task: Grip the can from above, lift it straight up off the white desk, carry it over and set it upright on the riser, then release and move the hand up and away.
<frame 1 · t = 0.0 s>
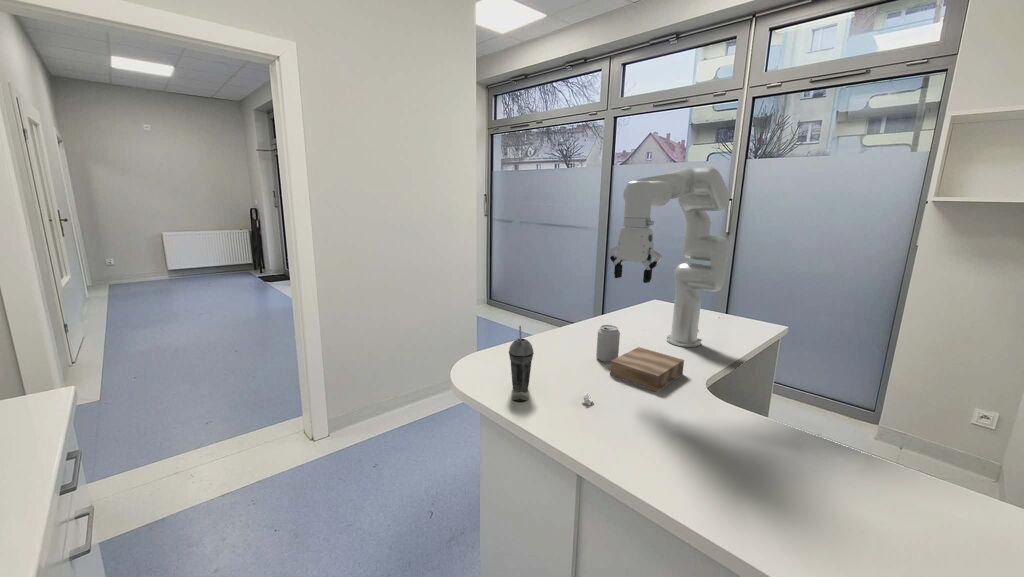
hand: (631, 279, 129), 31 cm above the counter, tool pointing down, fingers open, 9 cm apart
beverage cup: (520, 389, 125), on the counter
can: (606, 359, 149), on the counter
riser: (646, 374, 136), on the counter
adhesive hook: (590, 407, 116), on the counter
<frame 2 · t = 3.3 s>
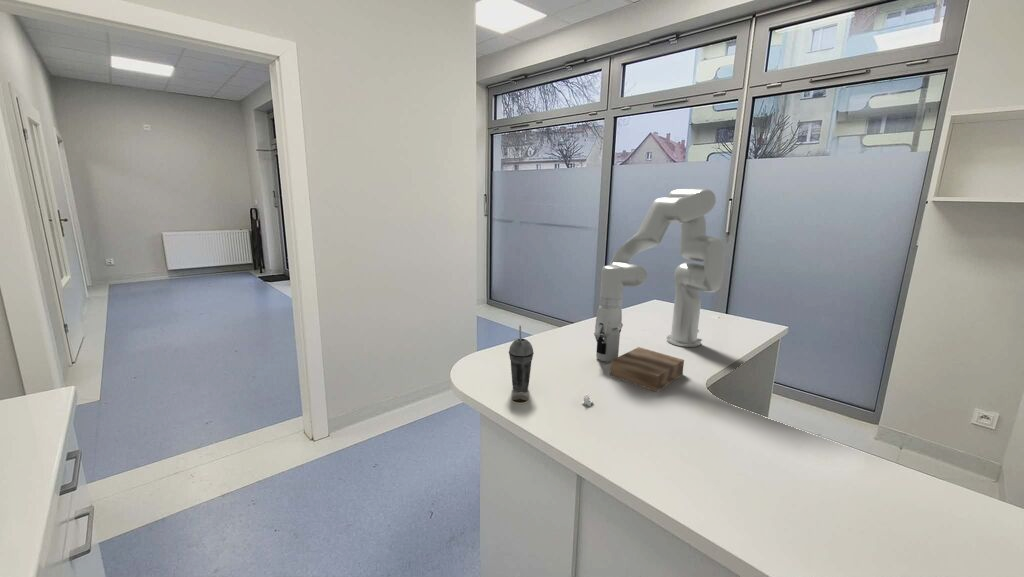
hand: (607, 350, 148), 3 cm above the counter, tool pointing down, fingers closed on can, 7 cm apart
can: (606, 359, 149), on the counter, touching gripper
everything else where it was.
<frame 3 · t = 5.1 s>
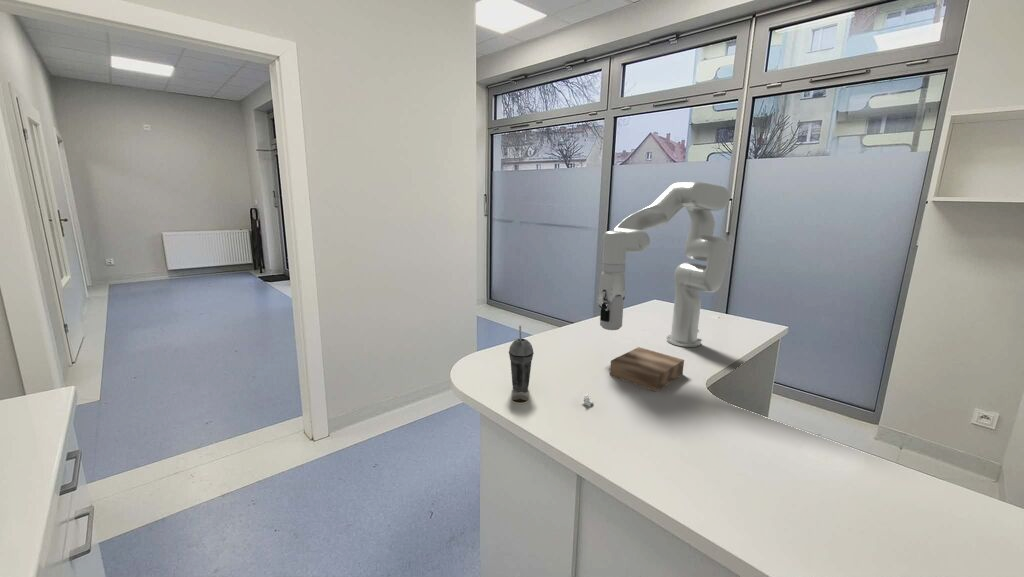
hand: (611, 318, 146), 15 cm above the counter, tool pointing down, fingers closed on can, 7 cm apart
can: (610, 328, 147), point 11 cm above the counter, touching gripper
everything else where it was.
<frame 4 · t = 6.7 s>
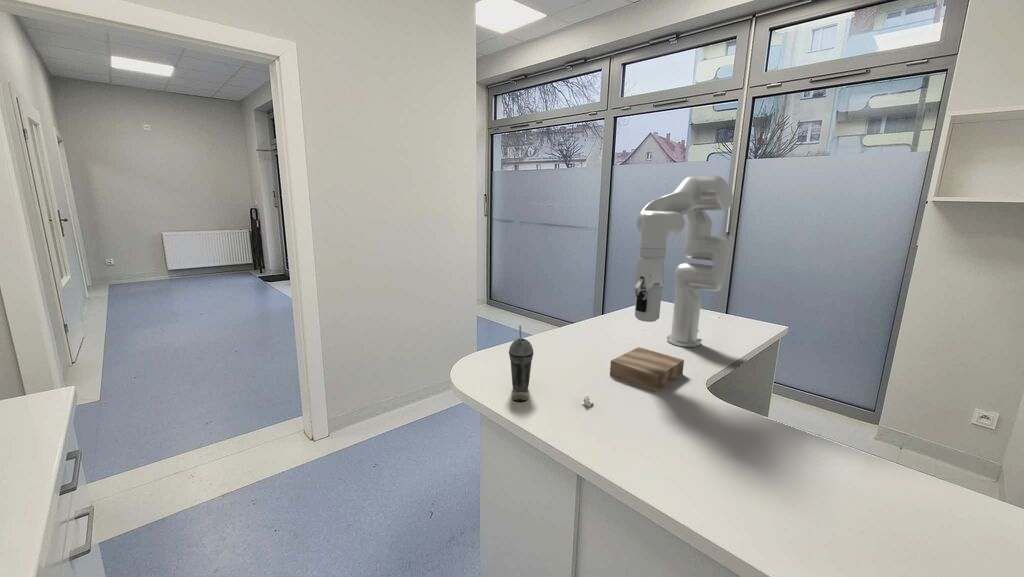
hand: (647, 308, 133), 22 cm above the counter, tool pointing down, fingers closed on can, 7 cm apart
can: (646, 319, 134), point 18 cm above the counter, touching gripper
everything else where it was.
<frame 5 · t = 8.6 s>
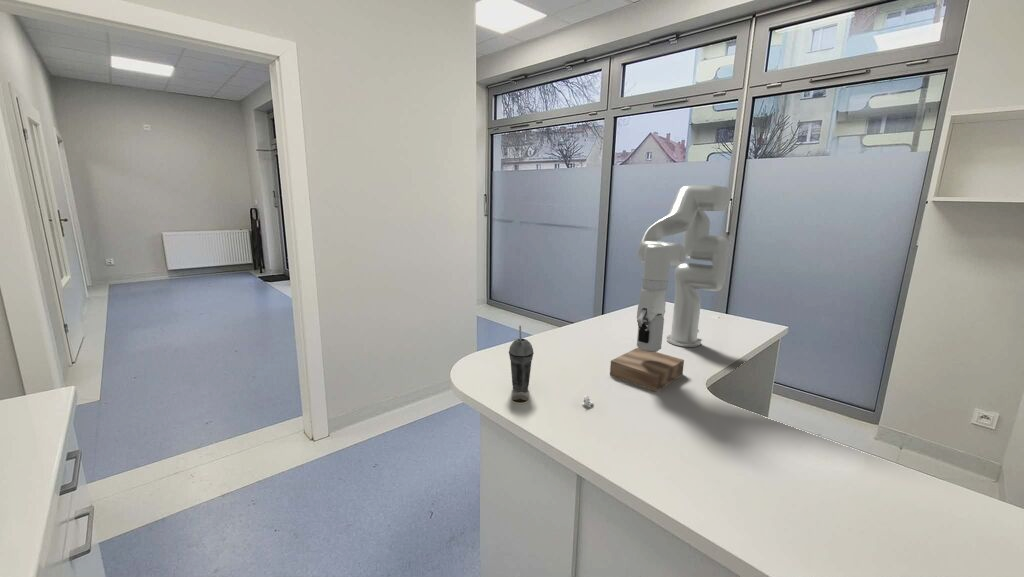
hand: (649, 338, 134), 12 cm above the counter, tool pointing down, fingers closed on can, 7 cm apart
can: (648, 349, 134), point 9 cm above the counter, touching gripper
when the fingers open (10 cm above the counter, at t = 10.2 s): can drops 1 cm, resting on riser.
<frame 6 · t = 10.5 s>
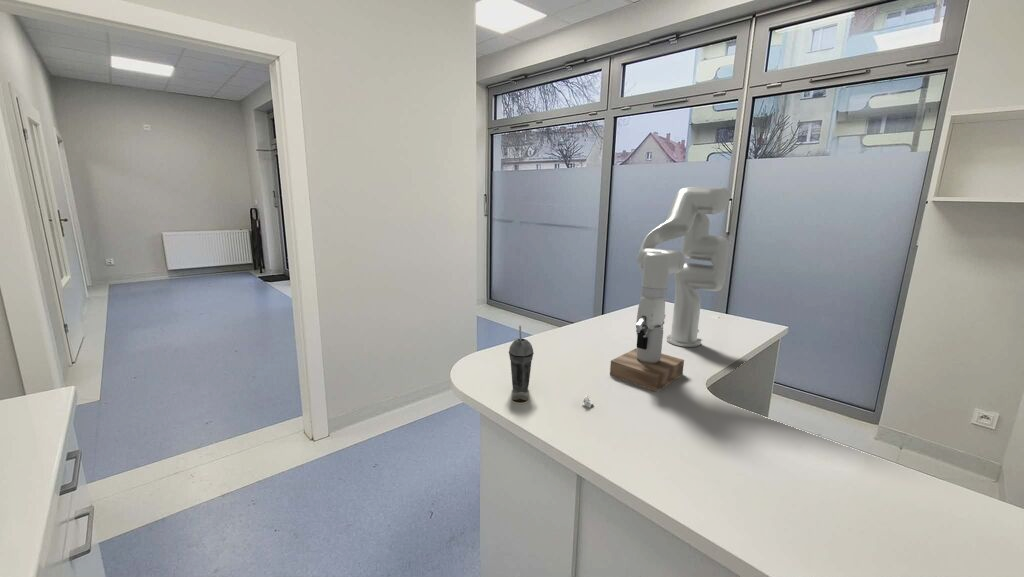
hand: (649, 344, 134), 10 cm above the counter, tool pointing down, fingers open, 9 cm apart
can: (648, 360, 136), point 5 cm above the counter, touching riser
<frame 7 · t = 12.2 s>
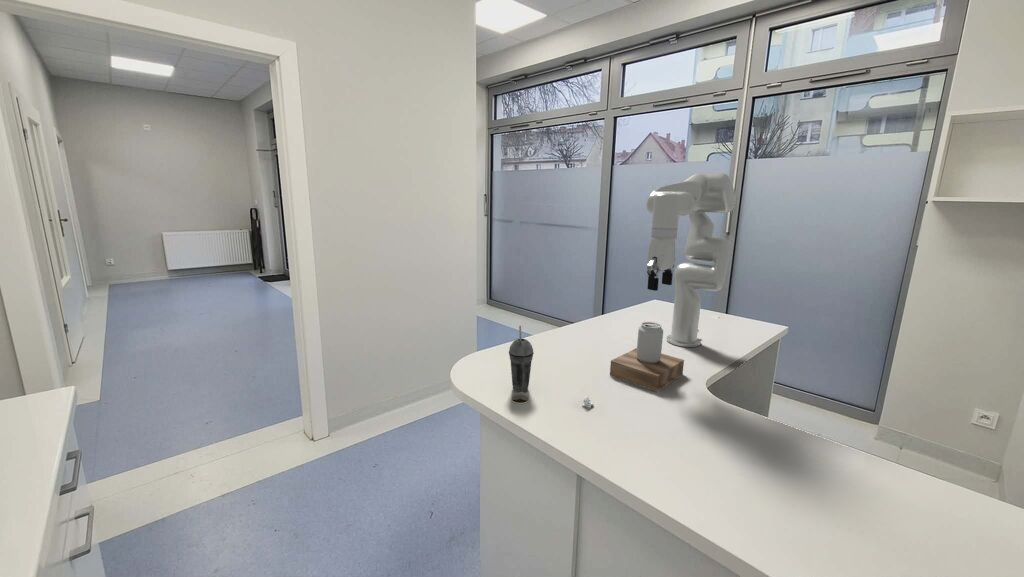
hand: (659, 287, 135), 28 cm above the counter, tool pointing down, fingers open, 9 cm apart
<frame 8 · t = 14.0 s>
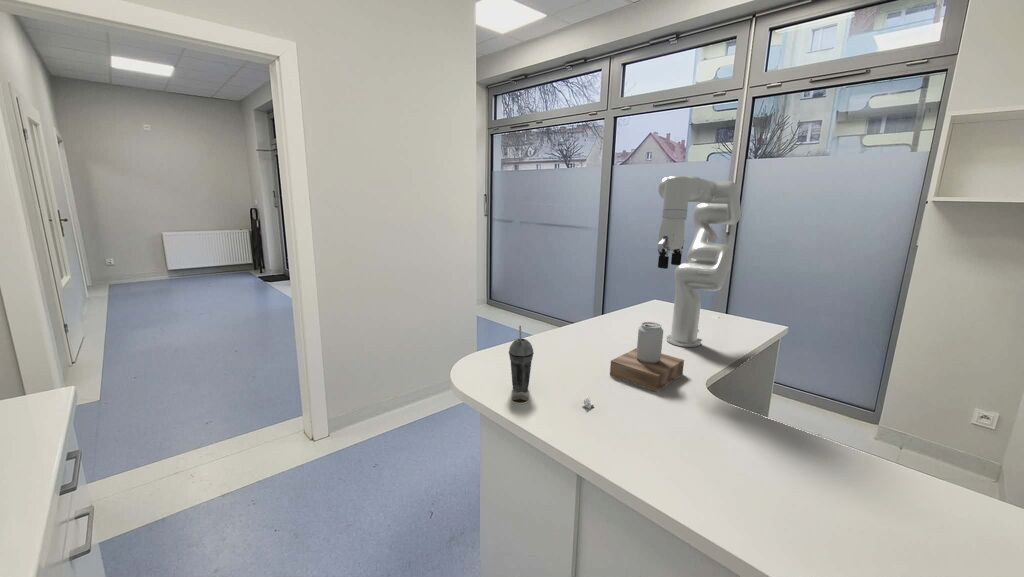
hand: (669, 266, 142), 33 cm above the counter, tool pointing down, fingers open, 9 cm apart
at the end: can inside the target area on the riser (0.4 cm from its centre), point 4.8 cm above the riser's base; can tilted 0°; the gripper is holding nothing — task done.
